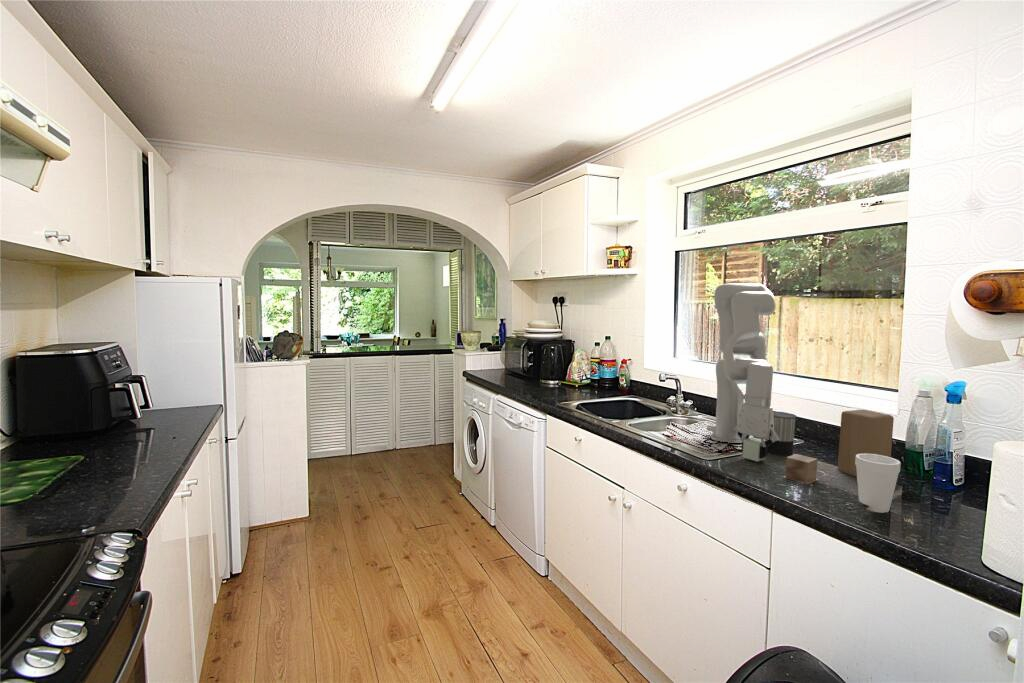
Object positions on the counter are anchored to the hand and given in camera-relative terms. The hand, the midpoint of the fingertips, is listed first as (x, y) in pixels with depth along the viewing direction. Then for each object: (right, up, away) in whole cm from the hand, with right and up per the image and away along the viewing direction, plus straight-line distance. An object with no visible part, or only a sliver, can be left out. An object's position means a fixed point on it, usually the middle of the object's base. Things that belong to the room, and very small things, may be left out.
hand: (754, 454), depth 168 cm
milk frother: (+10, -3, +9) cm, 14 cm away
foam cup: (+15, -6, -34) cm, 38 cm away
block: (+28, -5, -11) cm, 31 cm away
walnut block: (+6, -3, -16) cm, 18 cm away
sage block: (0, -1, 0) cm, 1 cm away
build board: (+7, -4, -13) cm, 15 cm away
